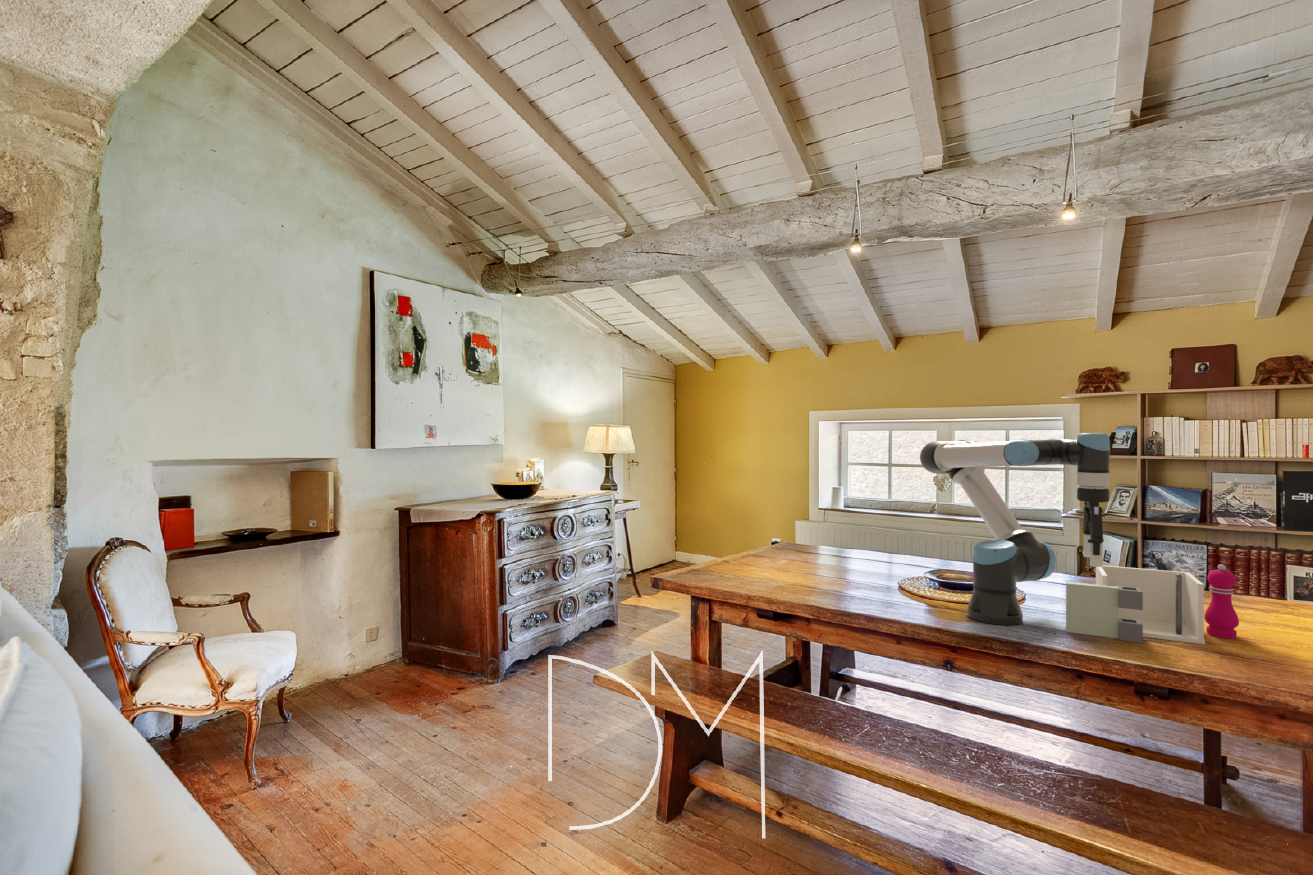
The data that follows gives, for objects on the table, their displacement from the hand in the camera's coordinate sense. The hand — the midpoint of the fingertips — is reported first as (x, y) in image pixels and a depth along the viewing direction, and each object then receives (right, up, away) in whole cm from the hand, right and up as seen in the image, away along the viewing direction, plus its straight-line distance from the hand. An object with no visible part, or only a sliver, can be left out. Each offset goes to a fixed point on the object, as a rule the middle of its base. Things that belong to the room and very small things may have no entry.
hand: (1092, 561), depth 177 cm
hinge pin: (+21, -19, -4) cm, 29 cm away
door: (+2, -21, -1) cm, 21 cm away
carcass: (+18, -20, +3) cm, 27 cm away
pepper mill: (+35, -21, -2) cm, 41 cm away
